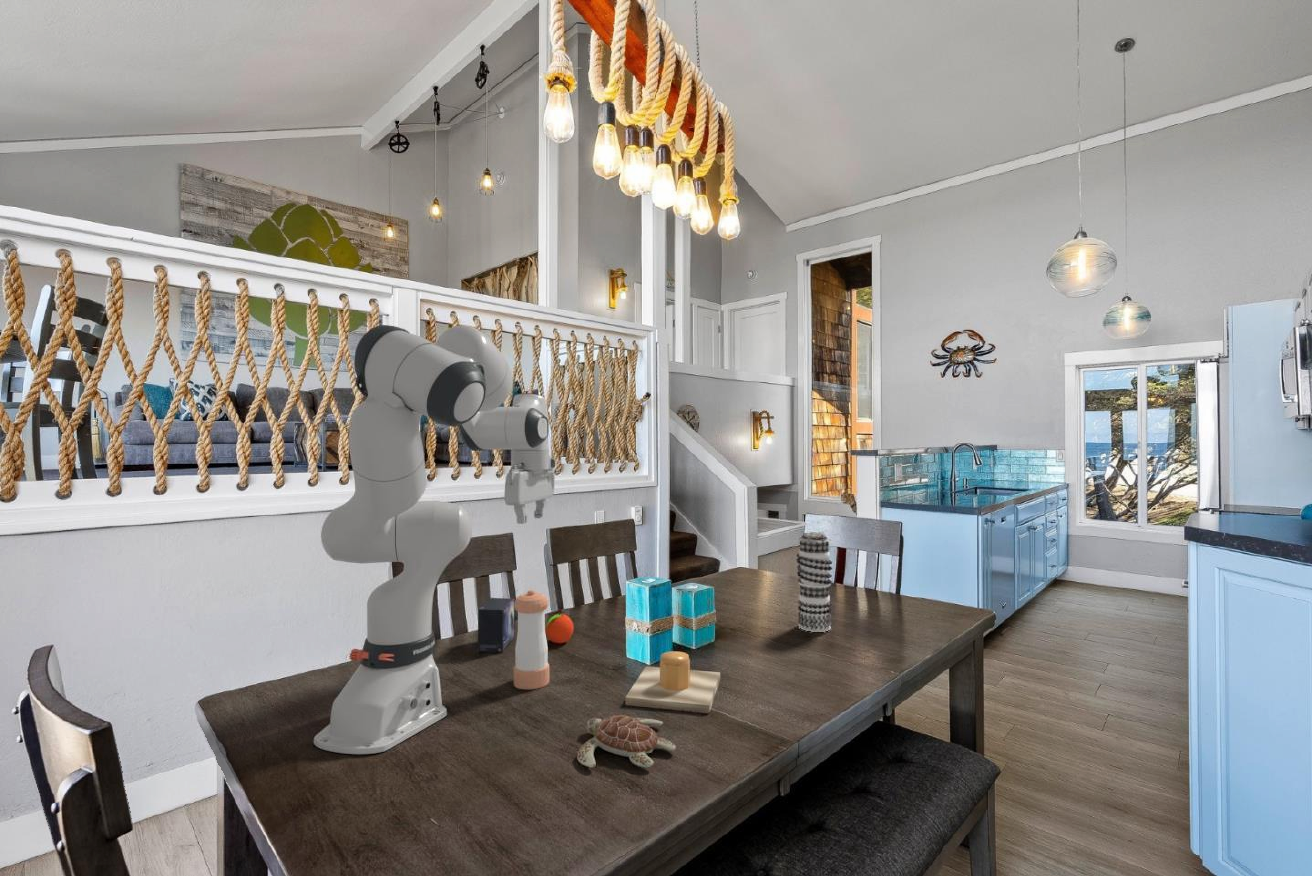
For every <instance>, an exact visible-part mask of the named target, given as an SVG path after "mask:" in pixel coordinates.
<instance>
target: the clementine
mask: <svg viewBox="0 0 1312 876" xmlns="http://www.w3.org/2000/svg"><path fill="white" fill-rule="evenodd" d="M574 626H575V625H574V623H573V621H572V618H570V617H569V616H567V615H566V614H563V613H556V614H554V615H553V616H551V617H550V618H549V619H548V620H547V622H546V623H545V634H546V636H547V637H546V638H548V639H549V640H550V641H551V642H552V643H555V644H564V643H566V642H567V641H568V640H570V639H571V637H572V636H573V633H574V629H575V628H574Z"/></svg>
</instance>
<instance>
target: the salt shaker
mask: <svg viewBox="0 0 1312 876" xmlns="http://www.w3.org/2000/svg"><path fill="white" fill-rule="evenodd" d="M548 606H549V599H548V598H547V596H546V595H545V594H542V593H539V592H536V591H535V590H534V589H529V590H527V592H526V593H522V594H520V595H518V596H517V597H516V599H514V610H515V611H516V612H517V636H516V641H515V649H514V651H515V652H514V653H515V654H514V655H515V664H514V666H513V686H514V687H515V688H517V689H519V690H536V689H540V688H541V689H542V688H543V687H546V686H547V685H548V684H549V683H550V664H549V662H548V652H549V649H548V641H547V637H546V636H547V635H546V630H545V629H546V622H545V620H546V617H545V616H546V614H545V612H546V611H545V610H547V608H548Z"/></svg>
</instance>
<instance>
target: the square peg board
mask: <svg viewBox="0 0 1312 876" xmlns="http://www.w3.org/2000/svg"><path fill="white" fill-rule="evenodd" d="M720 682H721V672H720V671H719V672H717V671H706V670H697V669H695V670H694V669H690V684H689V686H688V688H685V689H682V690H667V689H665V688H663V687H662V686H660V666H659V667H658V666H646V665H645V667H644V668H643V670H642V671H641V673H640V675H639V676H638V678H637V679H636V681H635V682H634V683H633V685H632V686H631V689H630V690H629V691H628V693H627V694H626V695H625V701H624V702H625V706H631V707H643V708H652V709H660V708H661V709H663V710H670V709H671V711H682V710H683V712H690V711H691V713H703V714H710V713H709V712H711V709H712V706H713V703H714V699H715V697H716V693H717V691H718V688H719V685H720Z"/></svg>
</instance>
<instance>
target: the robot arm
mask: <svg viewBox="0 0 1312 876" xmlns="http://www.w3.org/2000/svg"><path fill="white" fill-rule="evenodd" d="M353 364H354V373H355V374H356V378H355V386H356V387H357V389H358V391H359V392H360V393H361V394H362V396H363V395H364V397H366V399H365V400H364V401H362V402H361V403H359V404H358V405H357V406H356V407H355V408H354V410H353V411H352V413H351V416H350V420H349V427H348V445H349V455H350V463H351V467H352V473H353V479H354V494H352V497H351V498H349V500H348V501H346V502H345V503H343V504H342V505H340V506H338V507H337V506H336V507H335V508H334V509H333V510H331V512H330V513H329V514H328V515H327V517H326V518H325V520H324V521H323V523H322V527H321V531H320V539H321V544H322V547H323V550H324V551H325V553H326V554H327V555H328V556H329V557H330V558H331V559H332V560H333V561H336V562H337V561H338V562H343V563H344V562H345V563H351V564H352V563H354V564H360V565H361V564H378V563H394V562H395V563H397V562H399V563H402V564H403V571H402V572H400V574H399V575H396V576H395V577H393V578H391V579H389V580H387V581H384V582H383V583H382V584H380V585H378V586H377V587H376V588H374V589H373V591H371V592H370V594H369V596H368V599H367V601H366V630H367V632H366V635H367V636H366V638H365V640H364V642H363V643H364V644H363V646H362V649H358V648H353V649H351V651H350V653H349V656H348V657H349V660H350V661H351V662H355V661H356V662H357V661H358V662H359V663H360V664H359V666H358V668H356V670H355V671H354V672H353V674H352V676H351V677H350V678H349V680H348V682H347V683H346V684H345V686H344V687H343V688H342V689H341V691H340V692H339V694H338V696H336V698H335V699H334V701H333V702H332V706H331V711H330V722H329V724H328V725H327V726H325V727H324V728H323V729H322V730H321V731H319V732H318V733H317V734H316V735H315V736H314V738H313V744H314V745H315V746H316V748H319V749H321V750H324V751H327V752H333V753H339V754H348V755H349V754H350V755H369V754H370V755H371V754H377V753H382V752H386V751H388V750H390V749H392V748H394V747H395V746H397V745H399V744H401V743H402V742H403V741H405V740H407V739H409V738H410V737H412V736H414V735H416V734H417V733H419V732H421V731H422V730H424V729H426V728H428V727H430V726H432V725H433V724H434V723H437V722H438V721H441V720H442V719H444V718H445V717H447V715H448V711H447V708H446V706H445V705H443V702H442V701H443V700H442V691H441V679H440V673H439V668H438V666H437V664H436V662H435V660H434V656H433V653H434V652H435V643H436V641H435V639H436V638H435V632H434V631H433V629H432V625H433V624H432V622H433V621H432V617H433V614H432V613H433V603H434V602H433V601H434V594H435V589H436V585H437V583H438V581H439V579H440V577H441V575H442V573H443V572H444V571H445V569H446V568H447V566H448V565H449V564H450V563H451V562H452V561H453V560H454V559H455V558H457V557H458V556H459V555H460V554H462V553H463V552H464V551H465V549H466V548H467V547H468V545H469V543H470V542H471V539H472V536H473V535H472V534H473V524H472V519H471V516H470V513H468V511H467V510H466V508H465V507H463V505H462V504H460V503H454V502H453V503H452V502H447V501H440V500H422V501H419V500H420V499H421V498H422V496H423V495H424V493H425V491H426V488H427V473H426V472H427V471H426V463H425V452H424V445H423V440H422V435H421V431H420V423H421V420H422V416H425V417H428V418H429V419H430V420H431V421H433V422H435V423H437V424H440V425H444V426H447V427H457V428H458V432H459V434H460V435H459V436H460V439H461V442H463V444H464V445H465V446H466V447H467V448H468V449H470V450H471V451H472V452H479V451H480V452H481V451H489V450H493V451H494V450H499V451H500V450H510V469H509V470H508V473H507V474H506V477H505V482H504V483H505V484H504V495H503V497H504V499H503V500H504V503H505V506H513V511H514V513H515V515H516V523H517V524H518V525H523V524H526V523H527V517H528V516H527V515H526V514H525V509H526V505H527V504H531V503H534V502H535V504H536V505H535V510H534V511H533V513H534V515H533V516H534V519H542V518H543V517H544V510H545V506H546V503H547V501H546V500H547V499H550V498H551V499H552V498H553V496H554V492H555V476H556V473H555V469H556V467H557V461H556V459H555V458H553V457H552V456H551V454H550V447H549V444H548V437H549V431H550V424H549V422H550V421H549V413H548V412H549V411H548V405H547V400H546V398H545V397H544V396H542V395H540V394H537V393H529V392H528V393H527V392H524V393H519V394H516V395H514V397H513V399H512V406H501V405H502V404H503V403H504V402H505V401H506V400H507V399H508V398H509V395H510V394H511V391H512V388H513V385H514V384H513V383H514V382H513V381H514V380H513V374H512V369H511V367H510V365H509V363H508V362H507V360H506V358H505V356H504V355H503V354H502V352H501V351H500V350H499V349H498V347H497V346H496V345H495V343H493V341H492V340H491V339H490V338H489V337H488V336H487V335H485V334H484V332H482V331H480V330H479V328H476V327H473V326H471V325H465V324H462V325H461V324H460V325H455V326H452V327H449V328H448V329H446V330H445V331H443V332H442V333H441V334H440V336H438V338H437V339H436V341H435V343H434V342H432V341H430V340H429V339H427V338H424V337H420V336H419V335H416V334H414V333H410V331H408V330H407V329H405V328H402V327H398V326H396V325H395V326H394V325H389V324H388V325H387V324H379V325H376V326H373V327H372V328H370V329H369V330H368V331H366V333H365V334H364V335H363V336H362V337H361V338H360V340H359V341H358V343H357V345H356V348H355V352H354V363H353Z"/></svg>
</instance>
